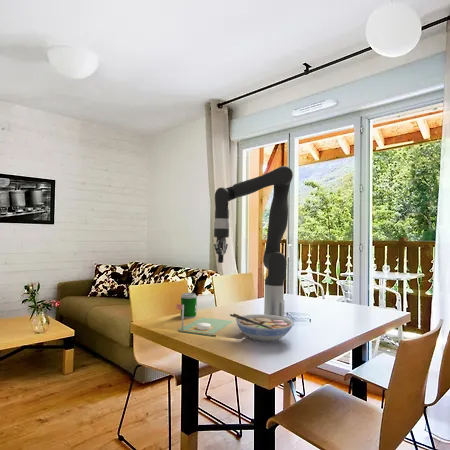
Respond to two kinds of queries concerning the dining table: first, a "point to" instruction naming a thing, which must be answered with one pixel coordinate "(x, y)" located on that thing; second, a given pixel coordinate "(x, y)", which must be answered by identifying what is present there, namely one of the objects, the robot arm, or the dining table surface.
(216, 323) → the putting board
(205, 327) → the white dome knob
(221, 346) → the dining table surface
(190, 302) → the soda can
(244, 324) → the ramen bowl
